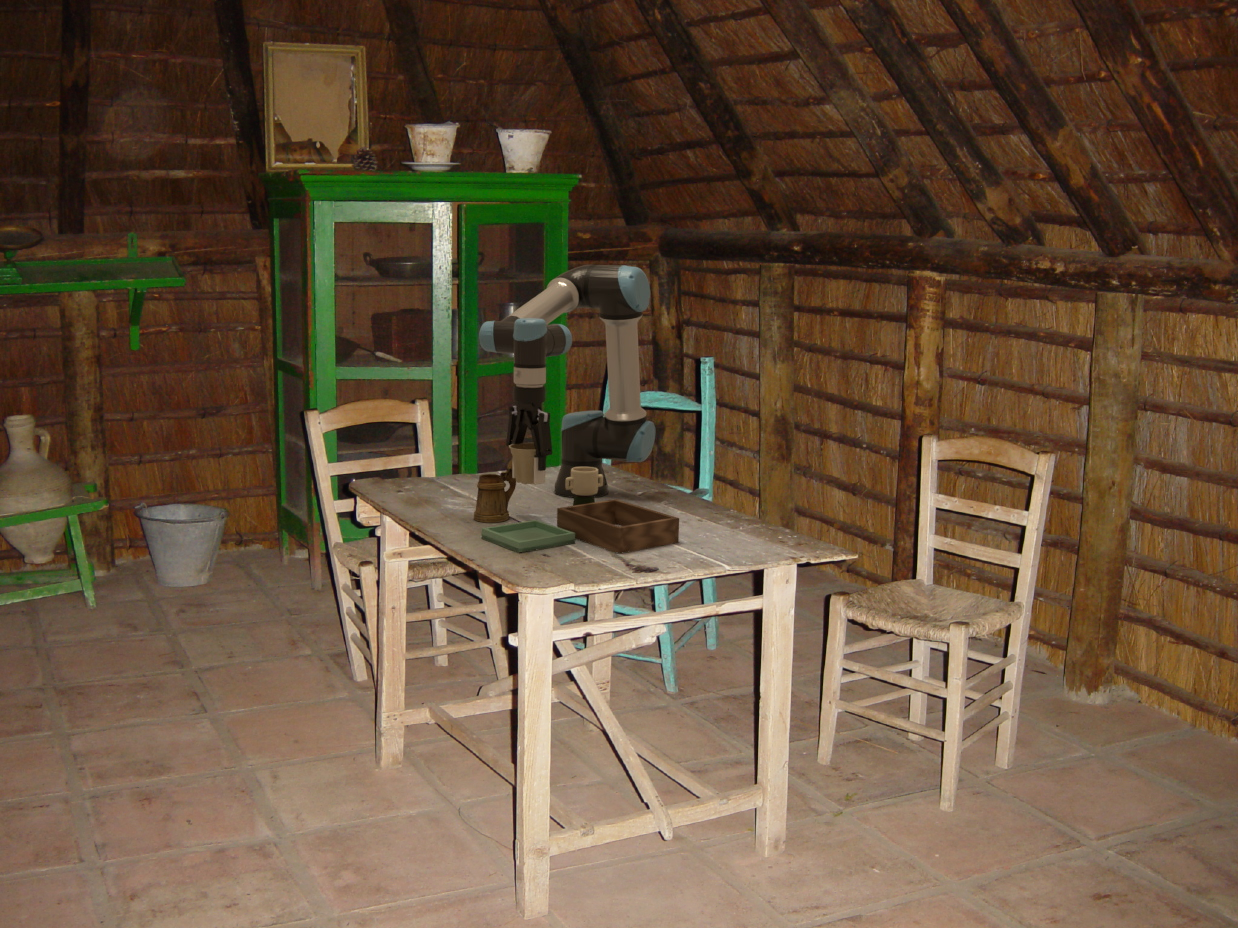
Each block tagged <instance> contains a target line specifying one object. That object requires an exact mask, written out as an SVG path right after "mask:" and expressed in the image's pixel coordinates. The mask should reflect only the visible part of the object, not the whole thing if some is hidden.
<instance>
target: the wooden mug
mask: <svg viewBox="0 0 1238 928" xmlns="http://www.w3.org/2000/svg"><path fill="white" fill-rule="evenodd" d="M506 482H507V483H509V487H508V489H507V490H506V489H505V488H506V486H507V483H506ZM476 485H477V486H476V487H477V488H478V489H477V497H476V505H475V511H474V512H473V520H475V521H477V522H480V523H491V524H492V523H501V522H506V521H508V520H509V518H510V512H509V510H508V507H509V502H510V499H511V498H512V496H513V494H514V492H515V490H516V486H517V482H516V478H512V457H511V458H510V460H509V461H508V463H507V467H506V470H505V471H502V472H500V474H495V473H485V474H481V475H479V479H478V482H477V484H476Z"/></svg>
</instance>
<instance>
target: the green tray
mask: <svg viewBox="0 0 1238 928" xmlns="http://www.w3.org/2000/svg"><path fill="white" fill-rule="evenodd" d="M481 539H482V540H485V541H488V542H490V543H492V544H495V545H498V546H500V547H503V548H504V549H507V548H508V550H510V551H513V552H515V551H516V552H515V553H518V552H522V553H526V551H528V552H532V551H533V550H534V551H537V550H536V549H539V550H544V548H545V549H550V547H551V548H555V547H554V546H556V547H560V545H562V546H567V545H572V544H576V538H575V533H574V532H571V531H568V530H565V529H562V528H559V527H557V525H553V524H551V523H547V522H544V521H542V520H539V519H533V520H526V521H521V522H519V521H518V522H514V523H507V524H501V525H494V526H493V525H492V526H488V527H481Z"/></svg>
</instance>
